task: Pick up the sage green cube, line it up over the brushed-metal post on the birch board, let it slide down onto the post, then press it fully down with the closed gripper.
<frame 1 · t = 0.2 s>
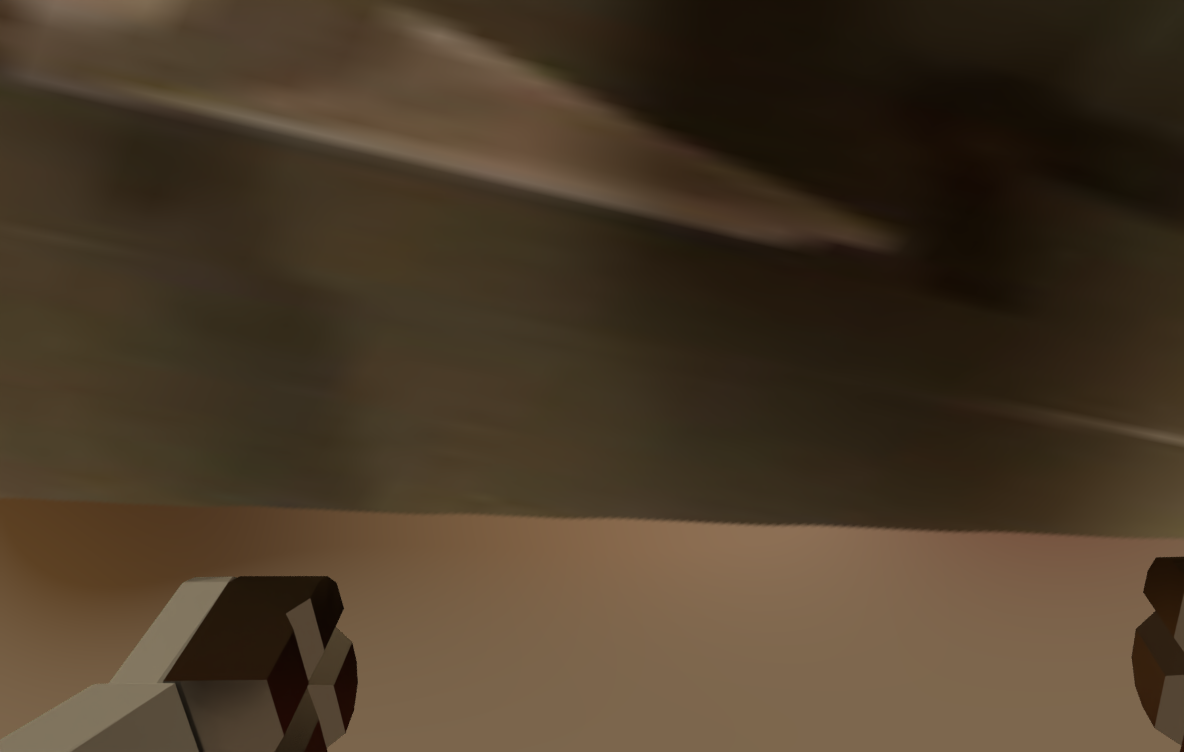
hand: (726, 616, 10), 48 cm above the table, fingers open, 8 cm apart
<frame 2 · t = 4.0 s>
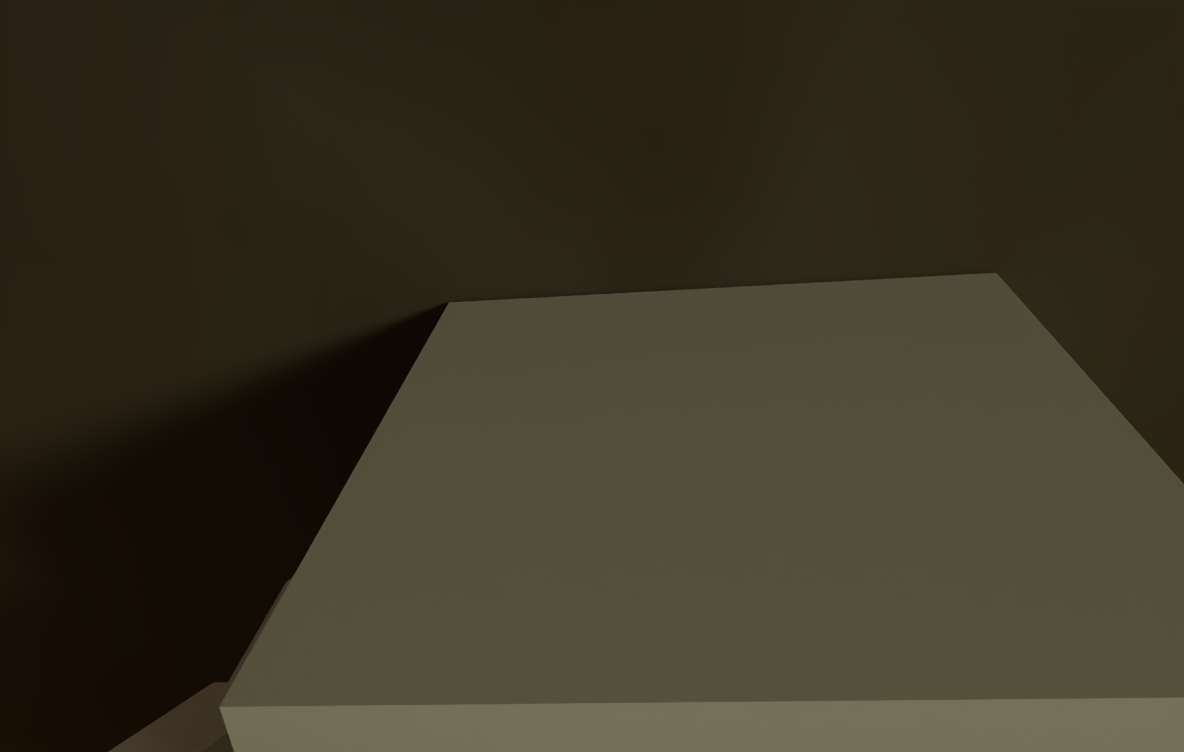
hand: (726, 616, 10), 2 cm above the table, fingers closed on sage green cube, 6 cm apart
sage green cube: (722, 515, 12), on the table, touching gripper
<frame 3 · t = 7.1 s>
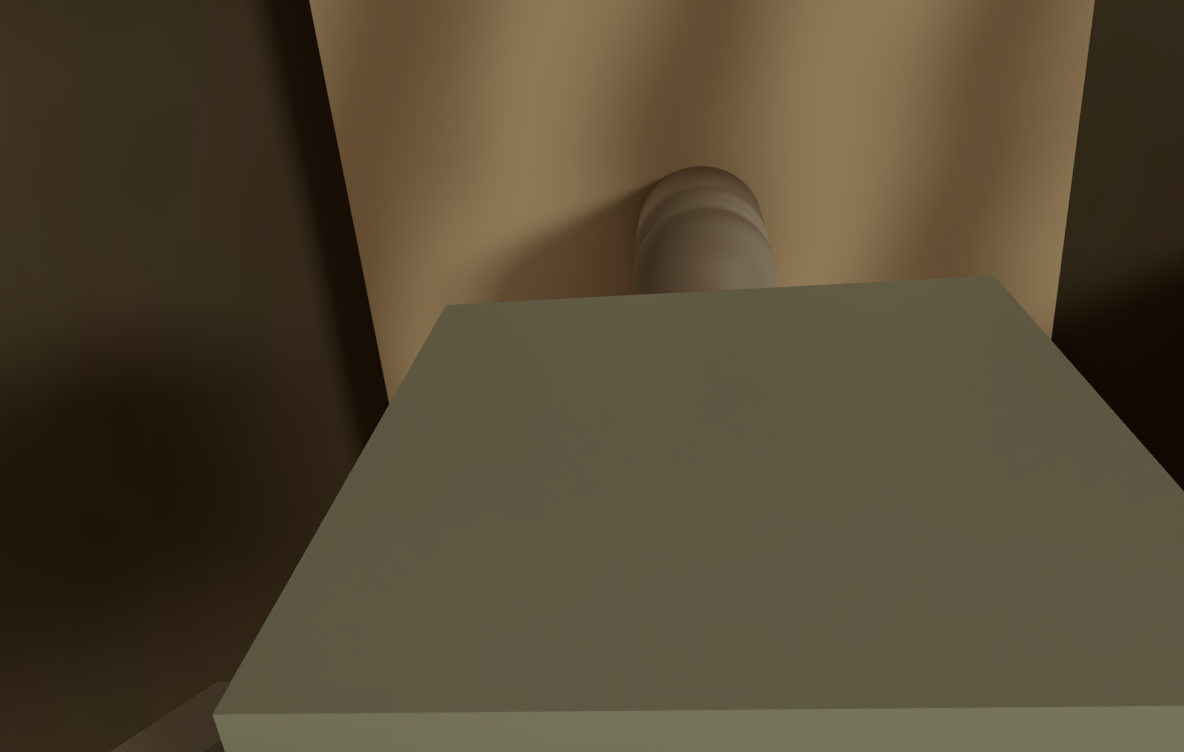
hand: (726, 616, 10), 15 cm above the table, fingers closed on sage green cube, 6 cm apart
post board: (698, 208, 23), on the table
sage green cube: (719, 518, 12), point 13 cm above the table, touching gripper
when the fingers open (6 cm above the table, at t = 9.9 s): sage green cube drops 2 cm, resting on post board.
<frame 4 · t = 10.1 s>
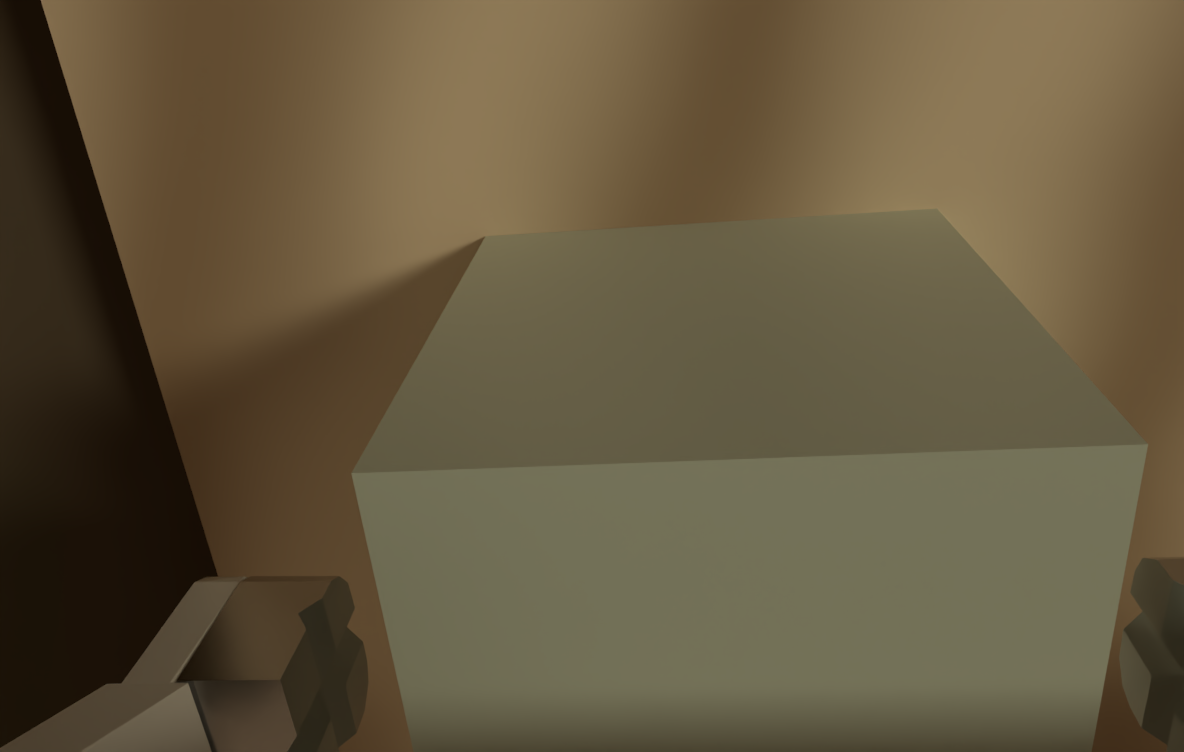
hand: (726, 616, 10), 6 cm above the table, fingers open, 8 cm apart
post board: (707, 375, 15), on the table
sage green cube: (713, 420, 14), point 2 cm above the table, touching post board
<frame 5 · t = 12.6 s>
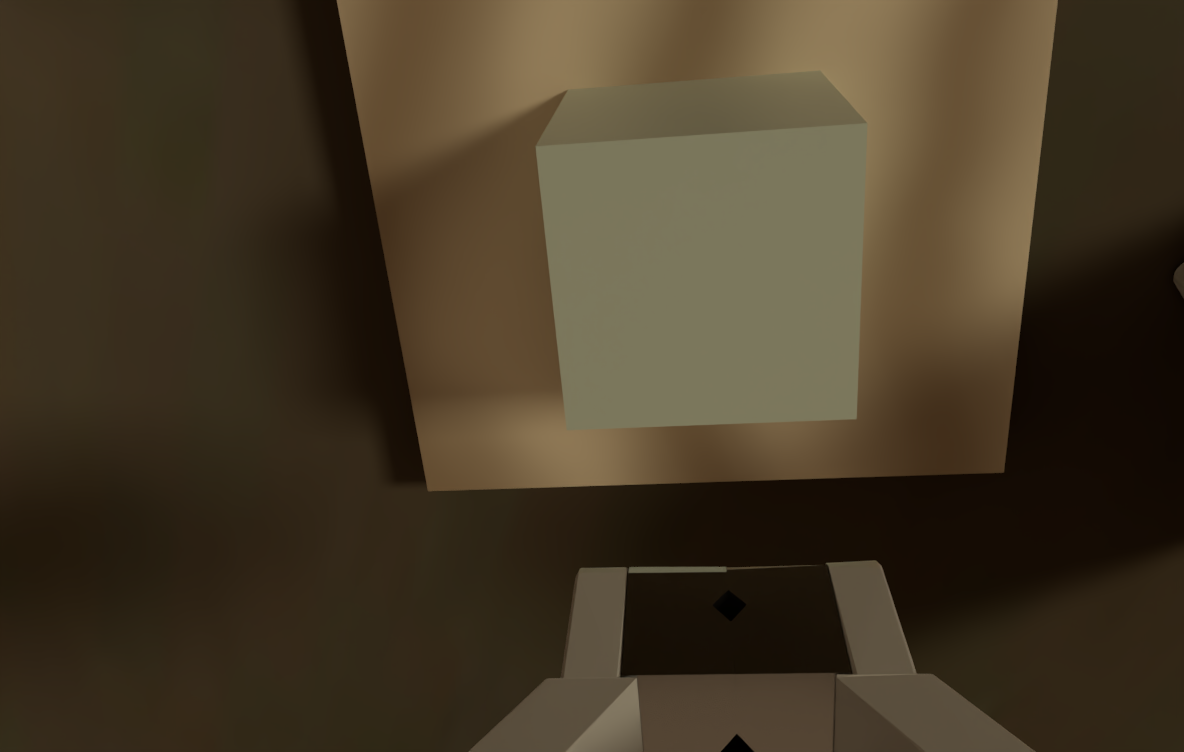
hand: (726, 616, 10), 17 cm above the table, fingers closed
post board: (694, 187, 25), on the table
sage green cube: (697, 202, 24), point 1 cm above the table, touching post board
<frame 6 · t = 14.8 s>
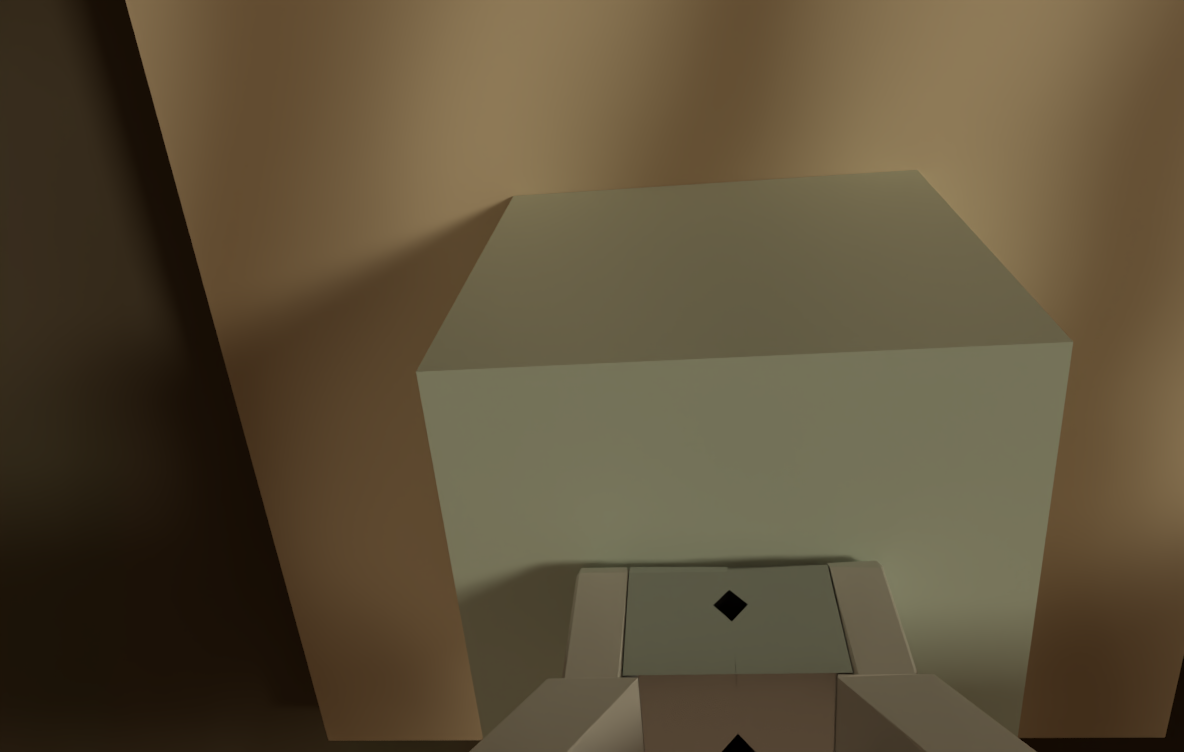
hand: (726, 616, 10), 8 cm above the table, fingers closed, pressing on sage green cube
post board: (711, 327, 17), on the table
sage green cube: (716, 364, 15), point 2 cm above the table, touching gripper, post board
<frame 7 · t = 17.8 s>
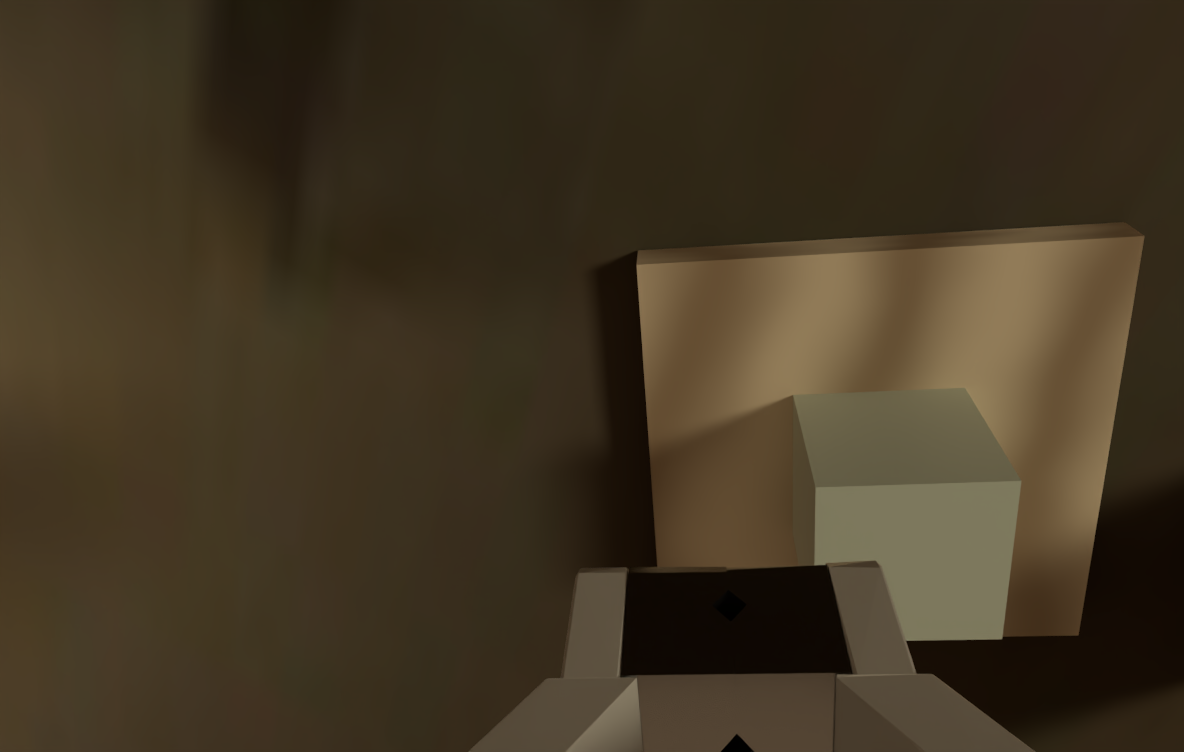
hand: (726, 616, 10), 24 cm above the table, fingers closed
post board: (866, 443, 36), on the table
sage green cube: (874, 463, 35), point 1 cm above the table, touching post board
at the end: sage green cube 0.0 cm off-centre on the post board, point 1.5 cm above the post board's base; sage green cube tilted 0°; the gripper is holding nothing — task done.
